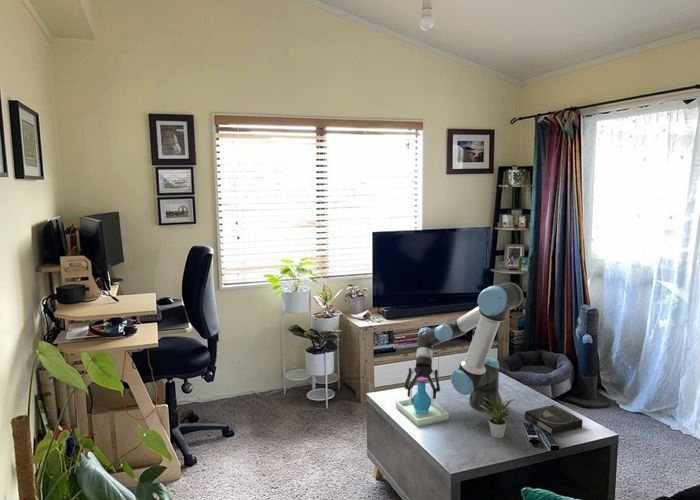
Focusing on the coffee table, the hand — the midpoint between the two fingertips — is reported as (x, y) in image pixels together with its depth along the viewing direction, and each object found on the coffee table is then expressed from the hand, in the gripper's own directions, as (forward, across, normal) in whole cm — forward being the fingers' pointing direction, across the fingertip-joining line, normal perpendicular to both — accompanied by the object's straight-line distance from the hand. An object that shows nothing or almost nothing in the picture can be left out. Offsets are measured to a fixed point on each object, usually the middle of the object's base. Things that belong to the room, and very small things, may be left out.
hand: (421, 404), depth 235 cm
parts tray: (+2, 0, -6) cm, 7 cm away
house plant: (+11, -34, +2) cm, 36 cm away
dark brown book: (+1, -57, -8) cm, 58 cm away
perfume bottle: (+1, 0, -5) cm, 5 cm away
